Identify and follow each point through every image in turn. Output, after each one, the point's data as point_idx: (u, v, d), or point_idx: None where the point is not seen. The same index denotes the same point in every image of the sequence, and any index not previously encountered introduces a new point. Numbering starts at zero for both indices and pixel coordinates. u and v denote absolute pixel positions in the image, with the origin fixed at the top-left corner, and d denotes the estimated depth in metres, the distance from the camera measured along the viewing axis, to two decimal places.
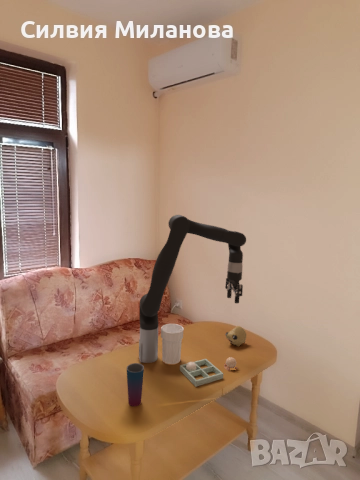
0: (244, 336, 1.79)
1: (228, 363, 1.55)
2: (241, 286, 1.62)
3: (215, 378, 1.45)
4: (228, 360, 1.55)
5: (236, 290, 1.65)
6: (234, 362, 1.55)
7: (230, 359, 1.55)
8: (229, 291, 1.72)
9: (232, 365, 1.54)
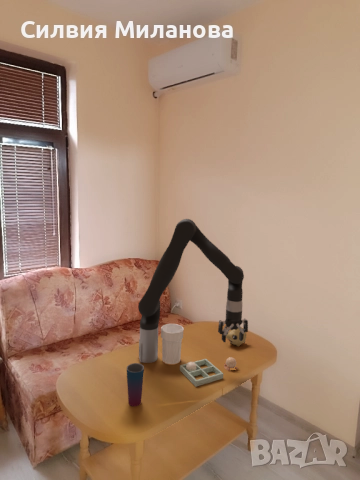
0: (244, 336, 1.79)
1: (228, 363, 1.55)
2: None
3: (215, 378, 1.45)
4: (228, 360, 1.55)
5: None
6: (234, 362, 1.55)
7: (230, 359, 1.55)
8: None
9: (232, 365, 1.54)
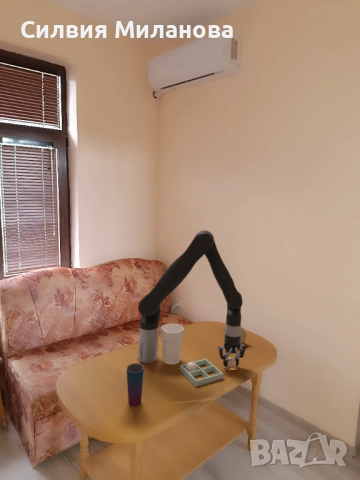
0: (244, 336, 1.79)
1: (228, 363, 1.55)
2: None
3: (215, 378, 1.45)
4: (228, 360, 1.55)
5: (237, 352, 1.56)
6: (234, 362, 1.55)
7: (230, 359, 1.55)
8: None
9: (232, 365, 1.54)
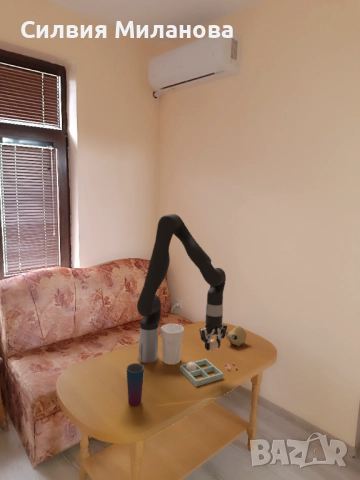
0: (244, 336, 1.79)
1: (211, 345, 1.44)
2: None
3: (215, 378, 1.45)
4: (210, 342, 1.45)
5: None
6: (216, 344, 1.45)
7: (213, 341, 1.45)
8: None
9: (215, 347, 1.44)
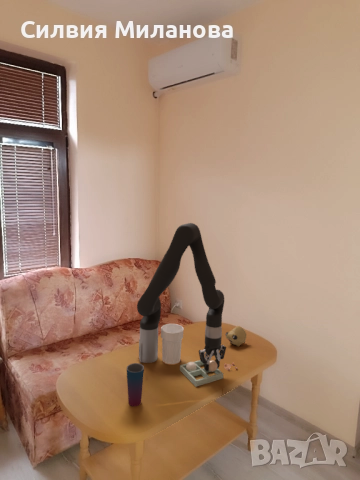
0: (244, 336, 1.79)
1: (210, 367, 1.46)
2: None
3: (215, 378, 1.45)
4: (209, 363, 1.46)
5: None
6: (216, 365, 1.47)
7: (212, 362, 1.46)
8: None
9: (214, 368, 1.46)
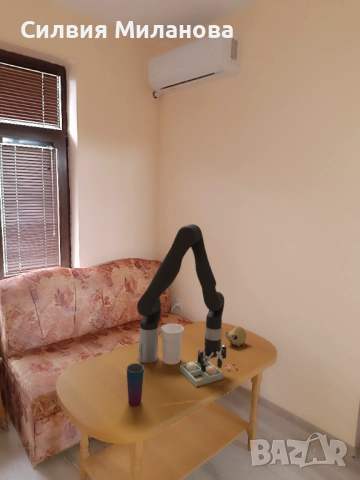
0: (244, 336, 1.79)
1: (209, 372, 1.46)
2: None
3: (215, 378, 1.45)
4: (209, 369, 1.47)
5: (219, 354, 1.49)
6: (215, 370, 1.47)
7: (211, 368, 1.47)
8: None
9: (213, 374, 1.46)
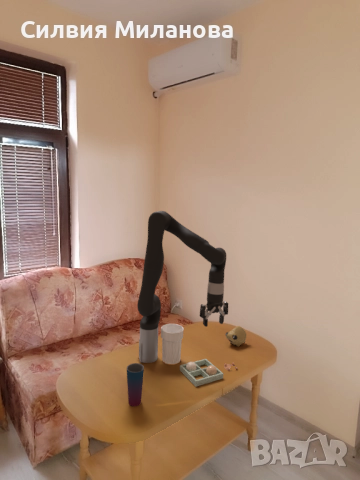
0: (244, 336, 1.79)
1: (209, 372, 1.46)
2: None
3: (215, 378, 1.45)
4: (209, 369, 1.47)
5: (221, 310, 1.51)
6: (215, 370, 1.47)
7: (211, 368, 1.47)
8: None
9: (213, 374, 1.46)
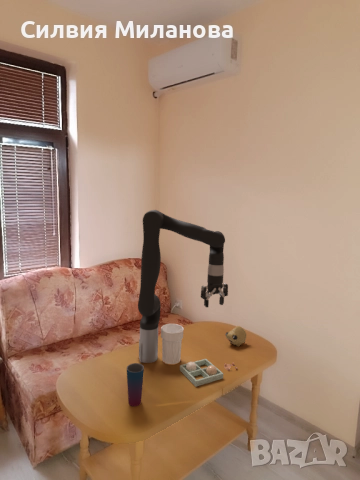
0: (244, 336, 1.79)
1: (209, 372, 1.46)
2: None
3: (215, 378, 1.45)
4: (209, 369, 1.47)
5: (221, 291, 1.57)
6: (215, 370, 1.47)
7: (211, 368, 1.47)
8: None
9: (214, 374, 1.46)
